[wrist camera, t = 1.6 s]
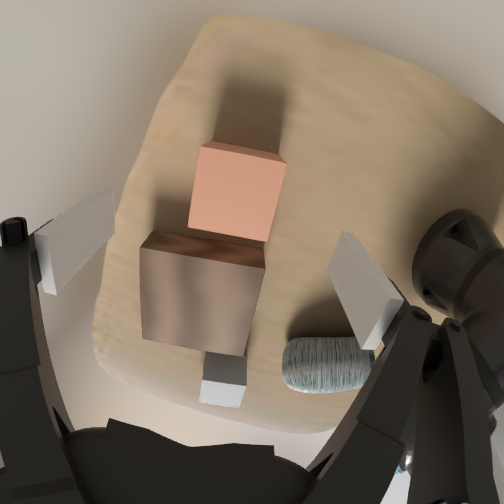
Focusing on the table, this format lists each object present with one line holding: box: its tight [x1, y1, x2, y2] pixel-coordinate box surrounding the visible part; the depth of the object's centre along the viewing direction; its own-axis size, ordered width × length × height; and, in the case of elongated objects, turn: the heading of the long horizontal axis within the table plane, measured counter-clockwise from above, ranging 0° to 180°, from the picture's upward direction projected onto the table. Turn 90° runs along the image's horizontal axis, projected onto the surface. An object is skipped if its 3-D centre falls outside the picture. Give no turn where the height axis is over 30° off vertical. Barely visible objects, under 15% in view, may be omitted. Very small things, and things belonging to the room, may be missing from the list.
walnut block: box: [140, 230, 265, 356], centre depth 33 cm, size 13×13×5 cm
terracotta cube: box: [188, 141, 287, 242], centre depth 26 cm, size 7×7×7 cm
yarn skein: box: [282, 336, 375, 393], centre depth 36 cm, size 14×10×10 cm
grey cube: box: [199, 351, 247, 408], centre depth 39 cm, size 6×6×6 cm
